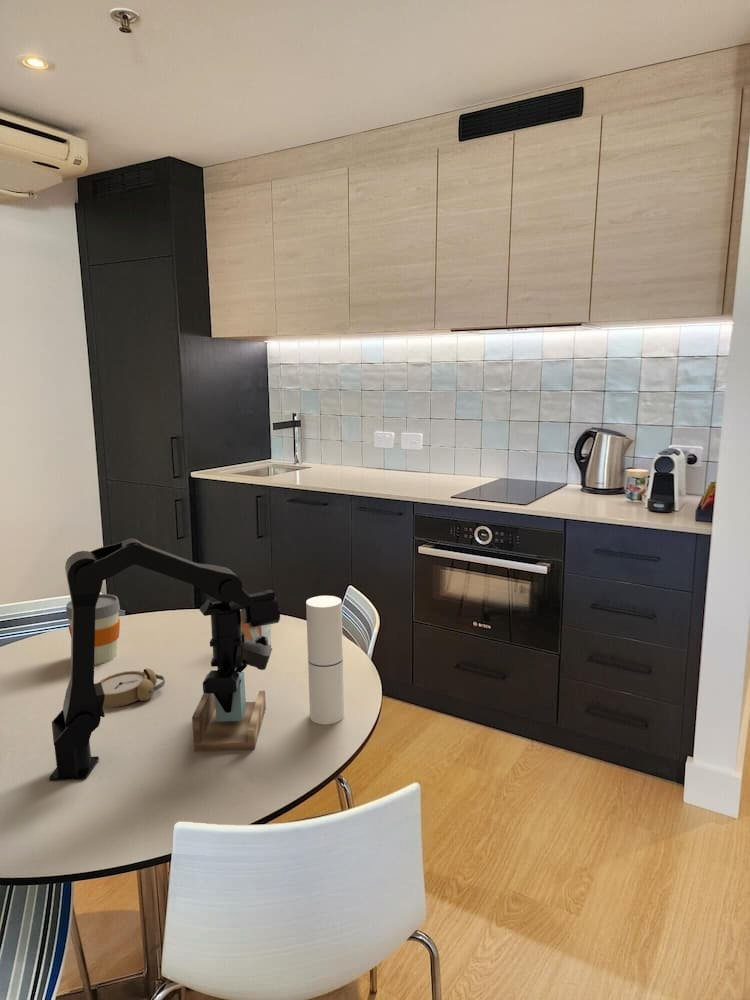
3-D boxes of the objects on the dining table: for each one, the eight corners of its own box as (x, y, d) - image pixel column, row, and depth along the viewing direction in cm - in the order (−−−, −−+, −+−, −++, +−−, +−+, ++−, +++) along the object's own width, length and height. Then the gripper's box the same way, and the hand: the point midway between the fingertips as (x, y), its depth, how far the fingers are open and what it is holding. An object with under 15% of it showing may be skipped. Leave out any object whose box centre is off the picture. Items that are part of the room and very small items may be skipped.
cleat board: (254, 749, 123) (253, 715, 122) (194, 751, 123) (192, 717, 122) (265, 707, 139) (264, 677, 138) (212, 709, 139) (210, 678, 138)
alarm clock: (98, 676, 150) (164, 659, 152) (104, 695, 151) (169, 677, 153) (87, 698, 139) (158, 680, 141) (93, 719, 140) (164, 700, 142)
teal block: (241, 720, 128) (239, 683, 127) (216, 721, 128) (214, 683, 127) (245, 708, 133) (244, 671, 132) (221, 709, 133) (219, 672, 132)
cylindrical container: (313, 726, 131) (309, 608, 127) (307, 709, 138) (303, 597, 134) (347, 721, 133) (344, 605, 129) (340, 705, 140) (337, 594, 136)
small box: (234, 648, 171) (232, 610, 169) (245, 640, 176) (243, 603, 174) (262, 651, 169) (260, 613, 167) (272, 643, 174) (270, 606, 172)
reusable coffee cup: (130, 647, 173) (126, 593, 170) (113, 667, 160) (108, 609, 158) (83, 648, 172) (77, 594, 170) (62, 668, 160) (56, 610, 157)
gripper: (261, 650, 119) (264, 728, 121) (273, 614, 137) (276, 683, 140) (199, 651, 118) (204, 730, 121) (220, 615, 137) (224, 684, 139)
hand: (230, 705), depth 130 cm, fingers closed on teal block, 5 cm apart
